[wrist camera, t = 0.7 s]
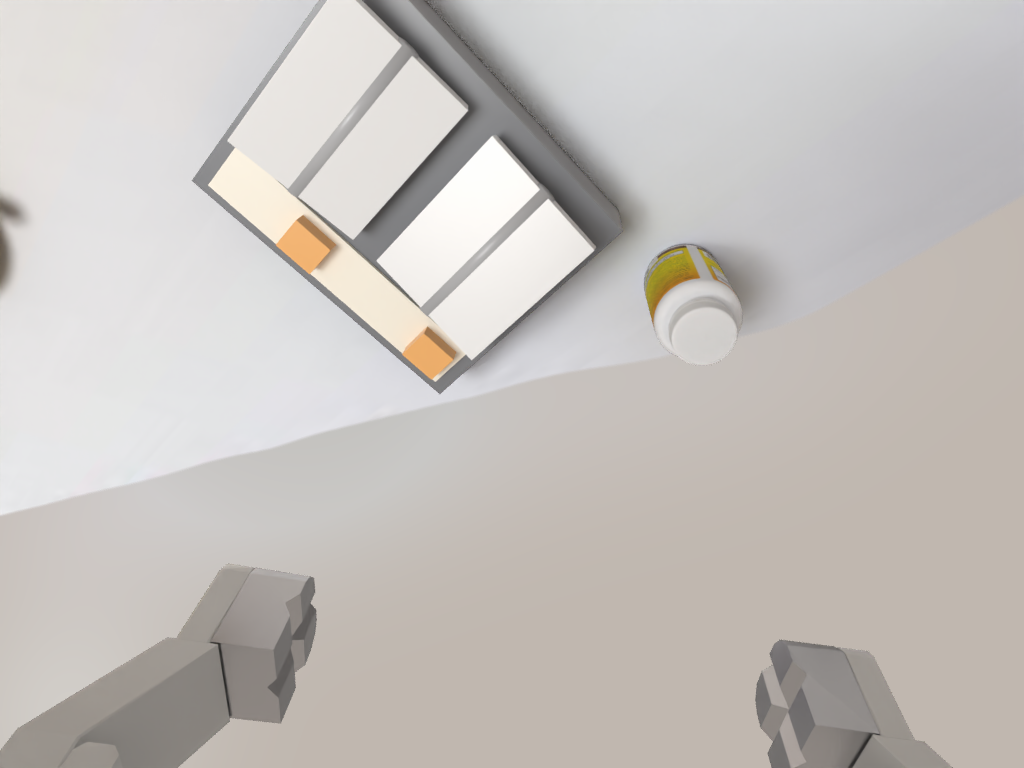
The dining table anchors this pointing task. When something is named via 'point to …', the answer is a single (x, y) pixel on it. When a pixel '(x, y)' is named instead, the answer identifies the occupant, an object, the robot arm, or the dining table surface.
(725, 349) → the supplement bottle
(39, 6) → the dining table surface
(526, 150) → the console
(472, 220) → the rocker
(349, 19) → the rocker
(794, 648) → the robot arm
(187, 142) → the dining table surface
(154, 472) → the dining table surface
